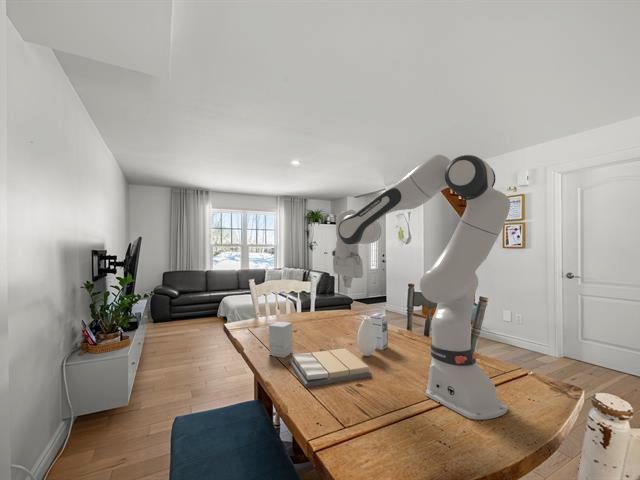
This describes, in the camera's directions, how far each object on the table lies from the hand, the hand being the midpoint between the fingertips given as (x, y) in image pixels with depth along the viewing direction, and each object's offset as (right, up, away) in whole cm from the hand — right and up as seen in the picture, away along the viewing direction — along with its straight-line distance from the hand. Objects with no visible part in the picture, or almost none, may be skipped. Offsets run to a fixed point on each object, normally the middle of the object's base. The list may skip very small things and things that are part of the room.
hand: (347, 287), depth 118 cm
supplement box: (-27, -30, +8) cm, 41 cm away
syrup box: (+16, -29, +16) cm, 37 cm away
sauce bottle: (+9, -29, +6) cm, 31 cm away
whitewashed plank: (-15, -27, -10) cm, 33 cm away
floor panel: (-8, -29, -8) cm, 31 cm away
